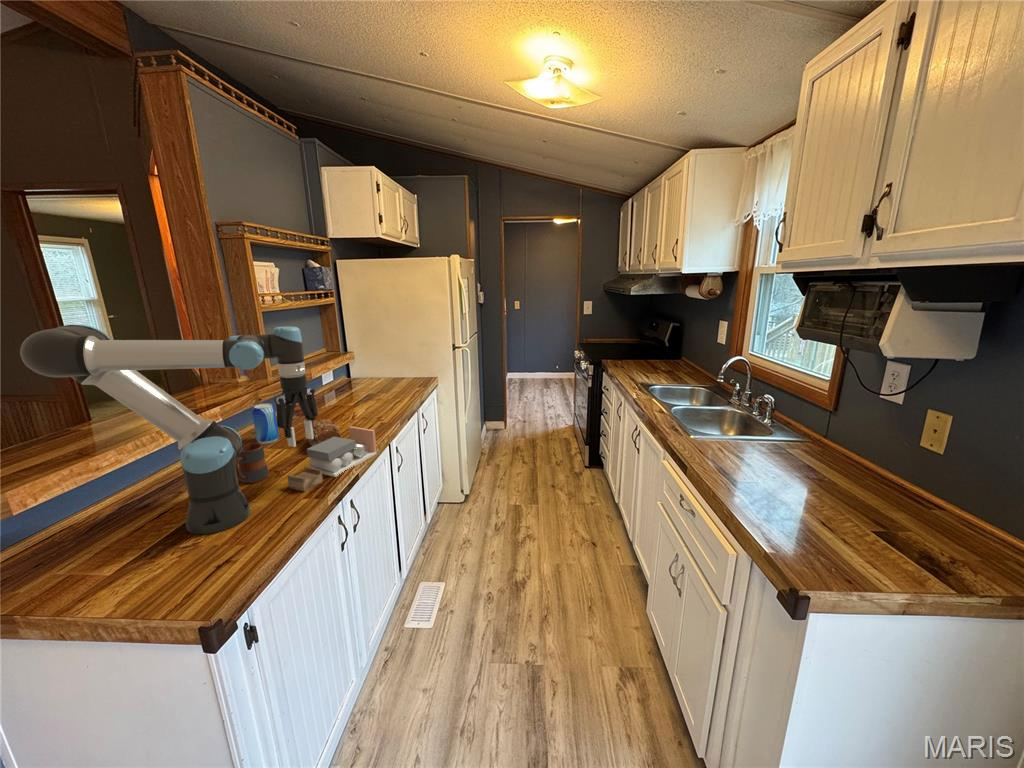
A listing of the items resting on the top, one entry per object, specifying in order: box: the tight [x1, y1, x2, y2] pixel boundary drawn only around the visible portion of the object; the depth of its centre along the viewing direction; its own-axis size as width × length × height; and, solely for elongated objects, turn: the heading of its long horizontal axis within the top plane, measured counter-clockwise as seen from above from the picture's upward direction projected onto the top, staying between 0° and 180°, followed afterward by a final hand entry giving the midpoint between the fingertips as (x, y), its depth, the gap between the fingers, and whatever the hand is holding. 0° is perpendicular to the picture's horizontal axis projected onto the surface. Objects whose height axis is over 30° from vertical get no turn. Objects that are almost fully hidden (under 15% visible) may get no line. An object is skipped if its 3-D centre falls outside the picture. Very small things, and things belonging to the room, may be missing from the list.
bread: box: [306, 418, 342, 447], centre depth 171 cm, size 19×11×10 cm, turn 37°
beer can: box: [251, 403, 280, 445], centre depth 174 cm, size 8×8×16 cm
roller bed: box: [309, 426, 378, 478], centre depth 154 cm, size 12×22×10 cm, turn 159°
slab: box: [306, 437, 356, 461], centre depth 149 cm, size 10×13×3 cm
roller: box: [348, 443, 368, 458], centre depth 159 cm, size 10×5×5 cm, turn 69°
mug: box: [236, 442, 269, 484], centre depth 139 cm, size 9×12×12 cm
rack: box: [286, 465, 324, 492], centre depth 138 cm, size 8×7×4 cm
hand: (301, 442), depth 136 cm, fingers open, 6 cm apart
